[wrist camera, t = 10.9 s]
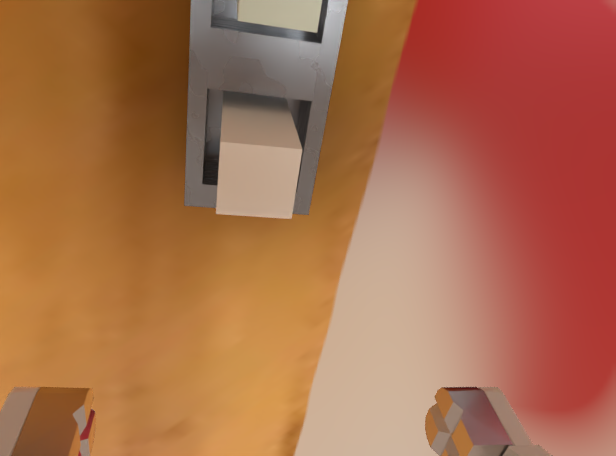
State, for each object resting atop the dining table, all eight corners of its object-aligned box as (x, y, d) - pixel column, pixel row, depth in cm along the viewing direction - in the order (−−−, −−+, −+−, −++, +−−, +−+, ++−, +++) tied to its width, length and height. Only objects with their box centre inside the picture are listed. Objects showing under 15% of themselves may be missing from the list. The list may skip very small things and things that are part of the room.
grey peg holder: (201, -146, 22) (196, -160, 18) (350, -114, 23) (370, -122, 20) (189, 174, 30) (184, 205, 26) (300, 184, 31) (308, 214, 28)
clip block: (223, 88, 27) (220, 141, 20) (285, 95, 27) (302, 149, 21) (219, 147, 28) (215, 213, 22) (278, 152, 29) (291, 218, 22)
